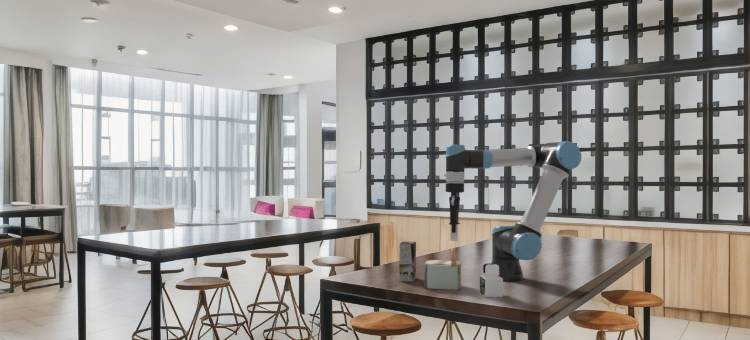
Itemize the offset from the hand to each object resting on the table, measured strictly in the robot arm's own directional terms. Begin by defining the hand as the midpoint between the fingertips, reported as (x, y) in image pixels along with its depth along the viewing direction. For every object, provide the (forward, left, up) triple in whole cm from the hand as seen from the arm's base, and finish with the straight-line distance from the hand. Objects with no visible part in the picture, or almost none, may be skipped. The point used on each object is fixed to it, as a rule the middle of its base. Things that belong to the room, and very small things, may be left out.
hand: (453, 240), depth 230 cm
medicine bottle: (-15, +12, -19) cm, 27 cm away
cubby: (+4, 0, -19) cm, 19 cm away
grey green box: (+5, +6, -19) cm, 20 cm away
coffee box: (+20, -12, -19) cm, 30 cm away
